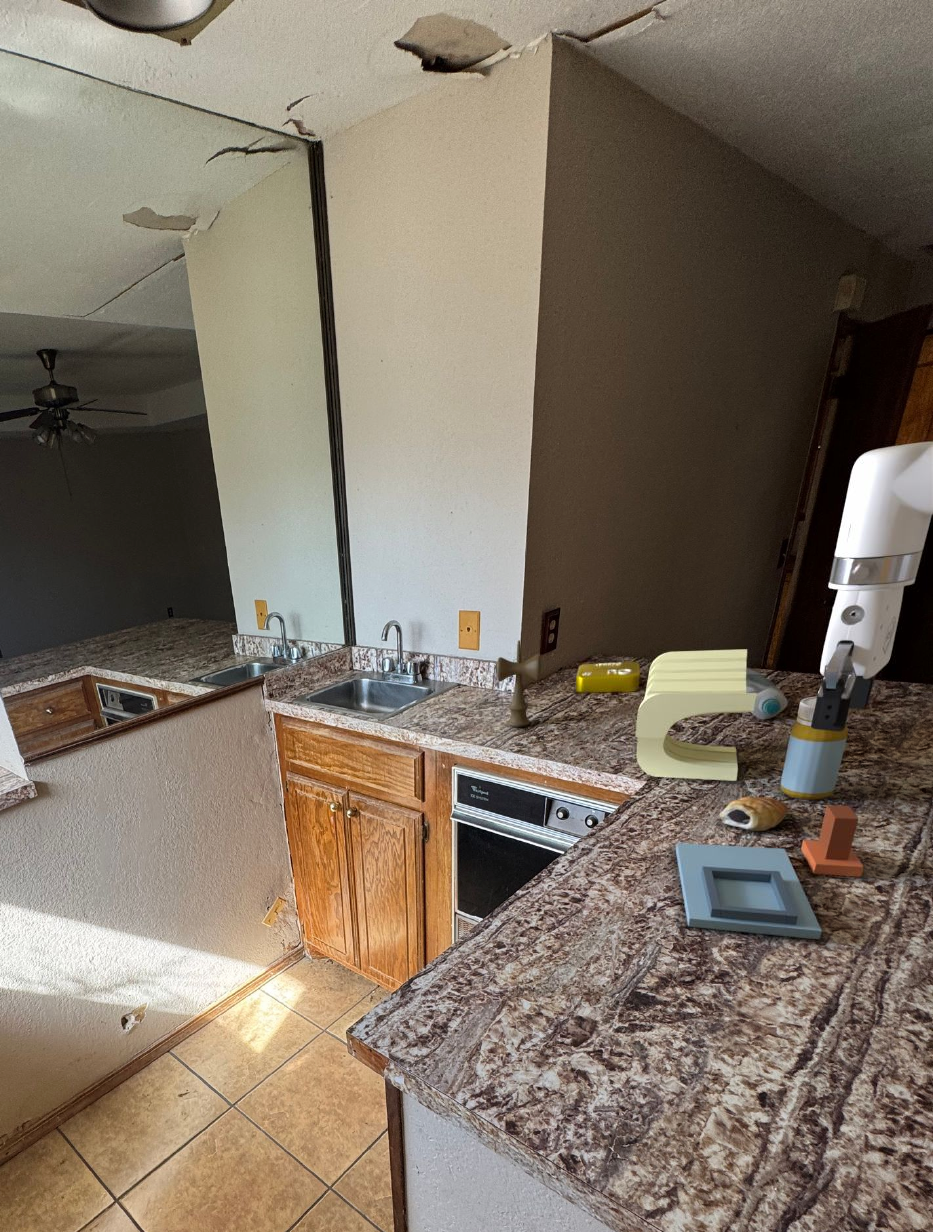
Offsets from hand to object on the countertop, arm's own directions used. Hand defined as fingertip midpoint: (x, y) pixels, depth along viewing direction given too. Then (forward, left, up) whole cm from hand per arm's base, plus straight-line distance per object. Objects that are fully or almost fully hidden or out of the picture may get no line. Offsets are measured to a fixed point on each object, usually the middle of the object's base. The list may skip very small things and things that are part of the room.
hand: (839, 718), depth 80 cm
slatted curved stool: (+12, -34, -20) cm, 41 cm away
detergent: (-3, -69, -20) cm, 72 cm away
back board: (+9, +11, -20) cm, 24 cm away
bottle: (-4, -22, -20) cm, 30 cm away
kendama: (+45, -59, -20) cm, 77 cm away
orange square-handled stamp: (-2, +2, -20) cm, 20 cm away
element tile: (+26, -93, -20) cm, 99 cm away
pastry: (+5, -10, -20) cm, 23 cm away
